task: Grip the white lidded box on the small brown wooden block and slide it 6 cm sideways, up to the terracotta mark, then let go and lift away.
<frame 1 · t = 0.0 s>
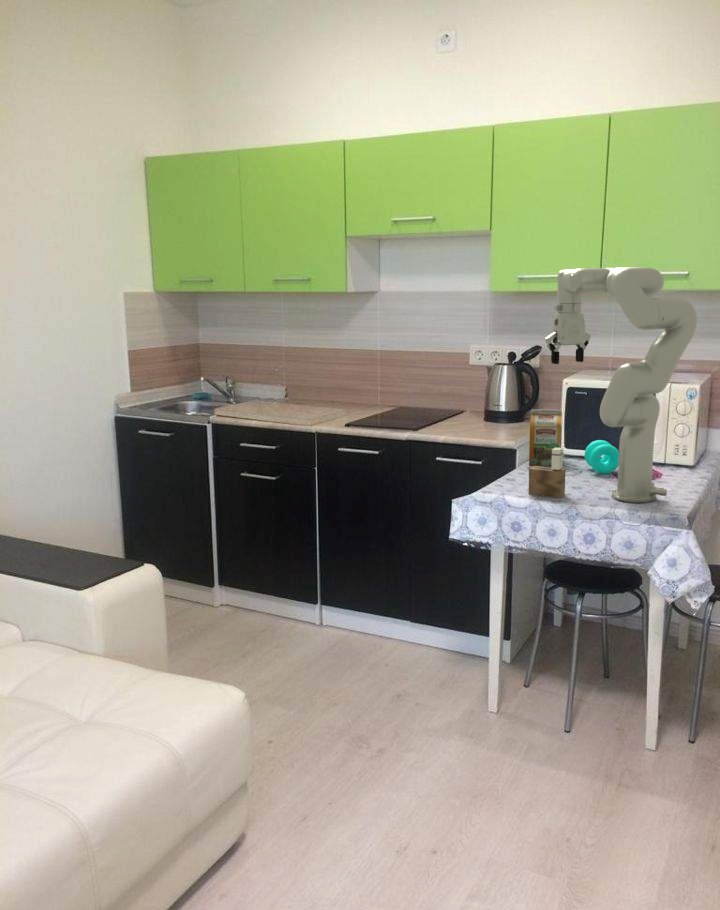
hand: (567, 362, 258), 37 cm above the table, fingers open, 9 cm apart
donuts: (601, 471, 269), on the table
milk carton: (545, 463, 283), on the table
white lidded box: (557, 458, 238), point 12 cm above the table, slide at 0.0 cm
brown wooden block: (546, 494, 243), on the table
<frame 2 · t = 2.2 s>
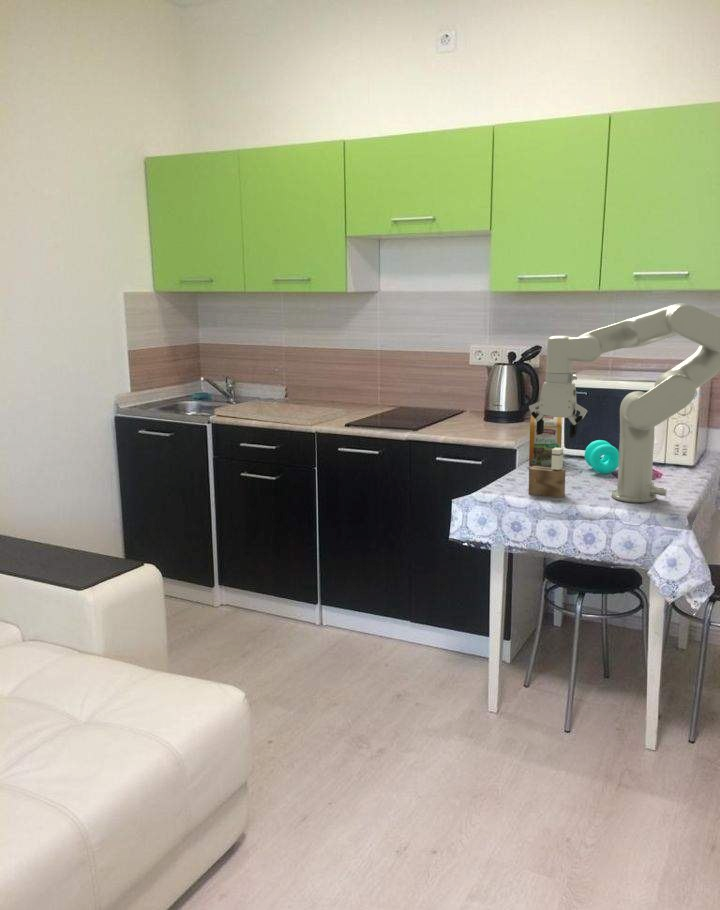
hand: (556, 435, 237), 19 cm above the table, fingers open, 9 cm apart
nothing on the table moved.
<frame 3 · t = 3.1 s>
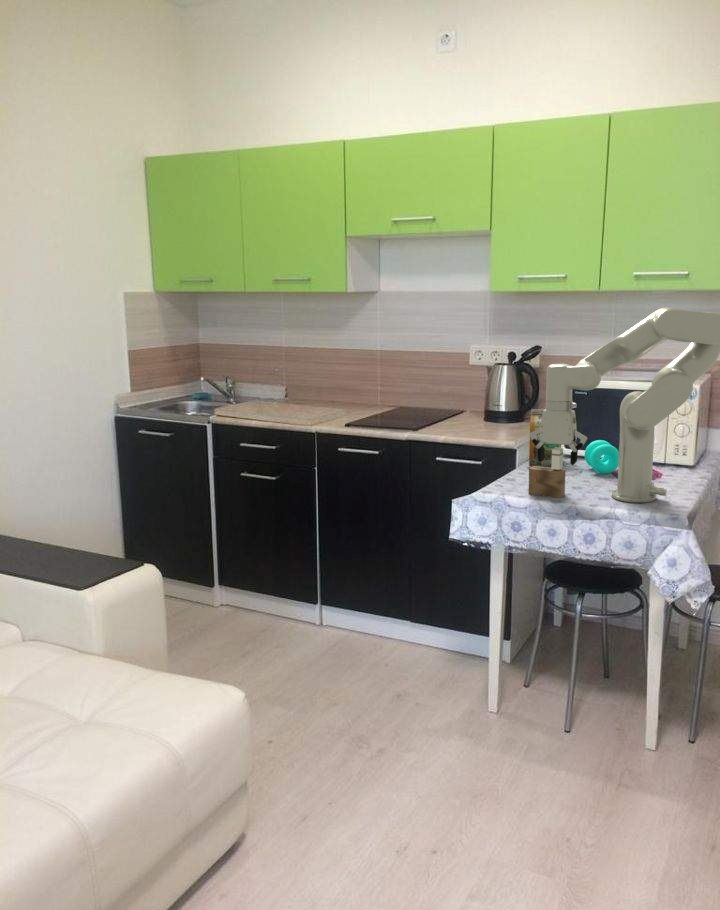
hand: (557, 462, 239), 10 cm above the table, fingers open, 9 cm apart
nothing on the table moved.
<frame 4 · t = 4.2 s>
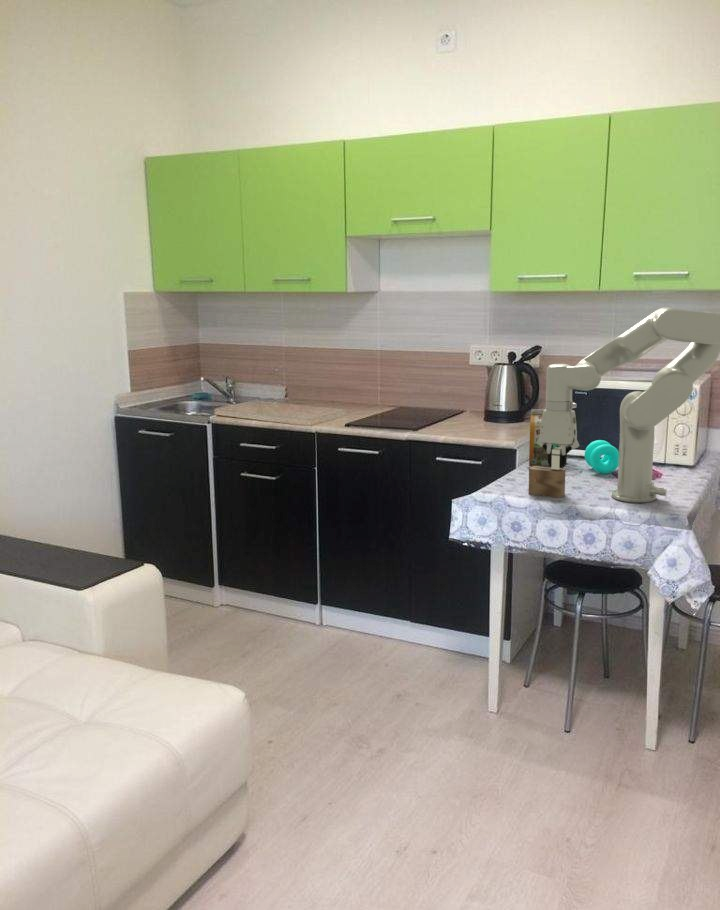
hand: (557, 466, 239), 9 cm above the table, fingers closed on white lidded box, 2 cm apart
white lidded box: (557, 458, 238), point 12 cm above the table, slide at 0.0 cm, touching gripper
everything else where it was.
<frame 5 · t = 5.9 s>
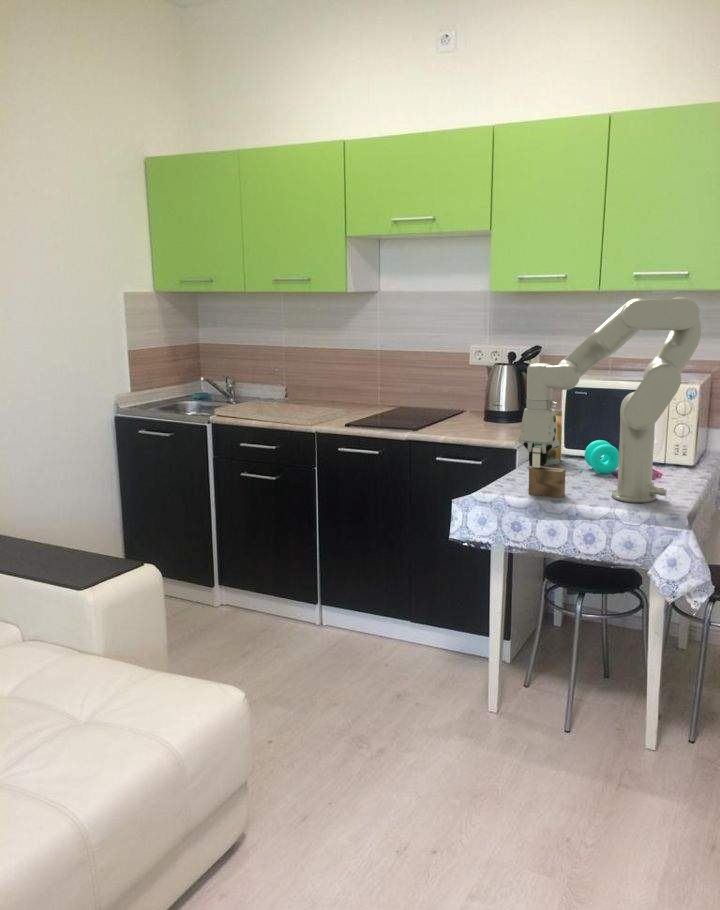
hand: (537, 464, 242), 9 cm above the table, fingers closed on white lidded box, 2 cm apart
white lidded box: (538, 456, 242), point 12 cm above the table, slide at 6.0 cm, touching gripper
everything else where it was.
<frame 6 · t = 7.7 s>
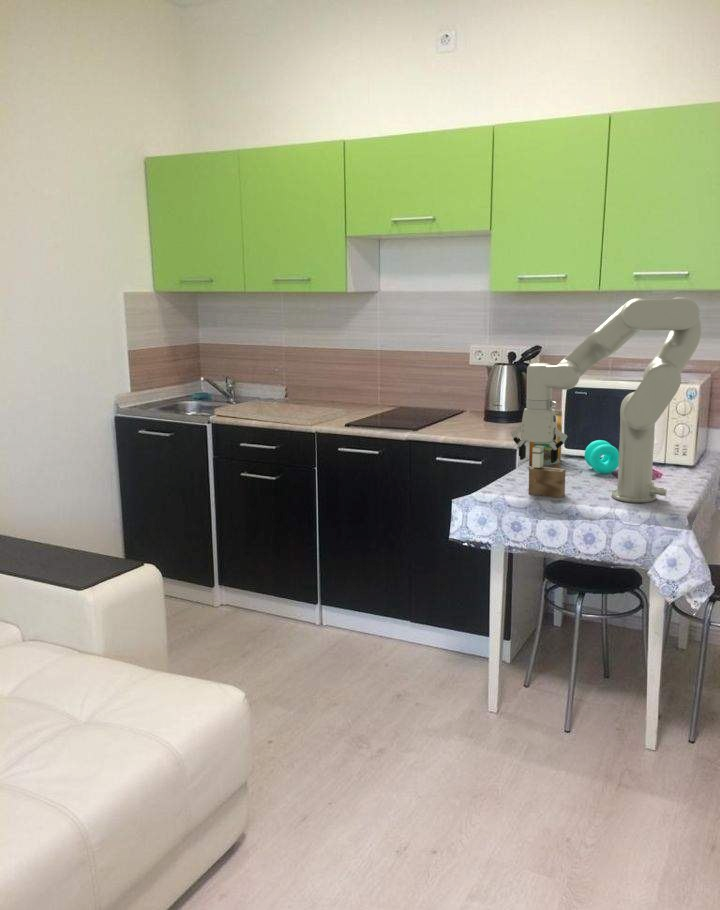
hand: (538, 460, 242), 10 cm above the table, fingers open, 9 cm apart
white lidded box: (537, 456, 242), point 12 cm above the table, slide at 6.0 cm
everything else where it was.
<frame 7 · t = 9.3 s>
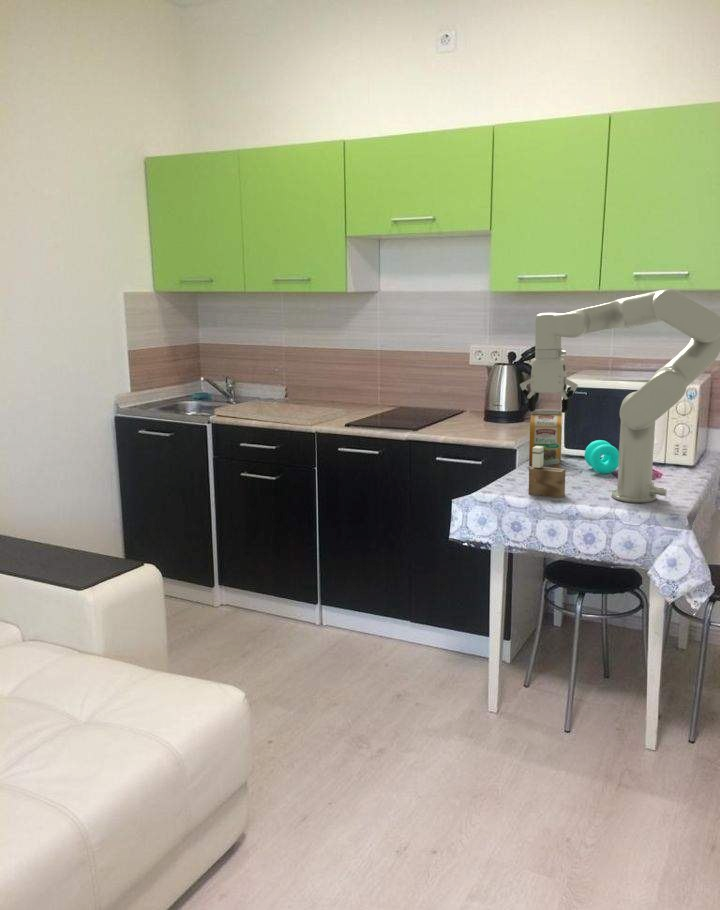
hand: (548, 411, 240), 25 cm above the table, fingers open, 9 cm apart
nothing on the table moved.
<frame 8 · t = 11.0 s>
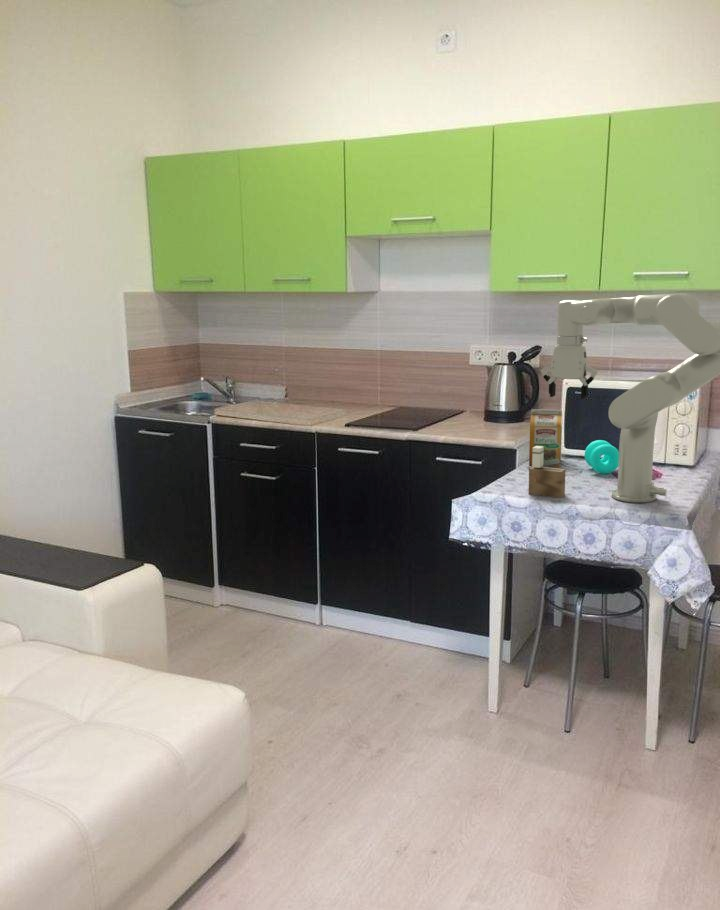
hand: (567, 397, 245), 28 cm above the table, fingers open, 9 cm apart
nothing on the table moved.
at the end: white lidded box slide at 6.0 cm; the gripper is holding nothing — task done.
